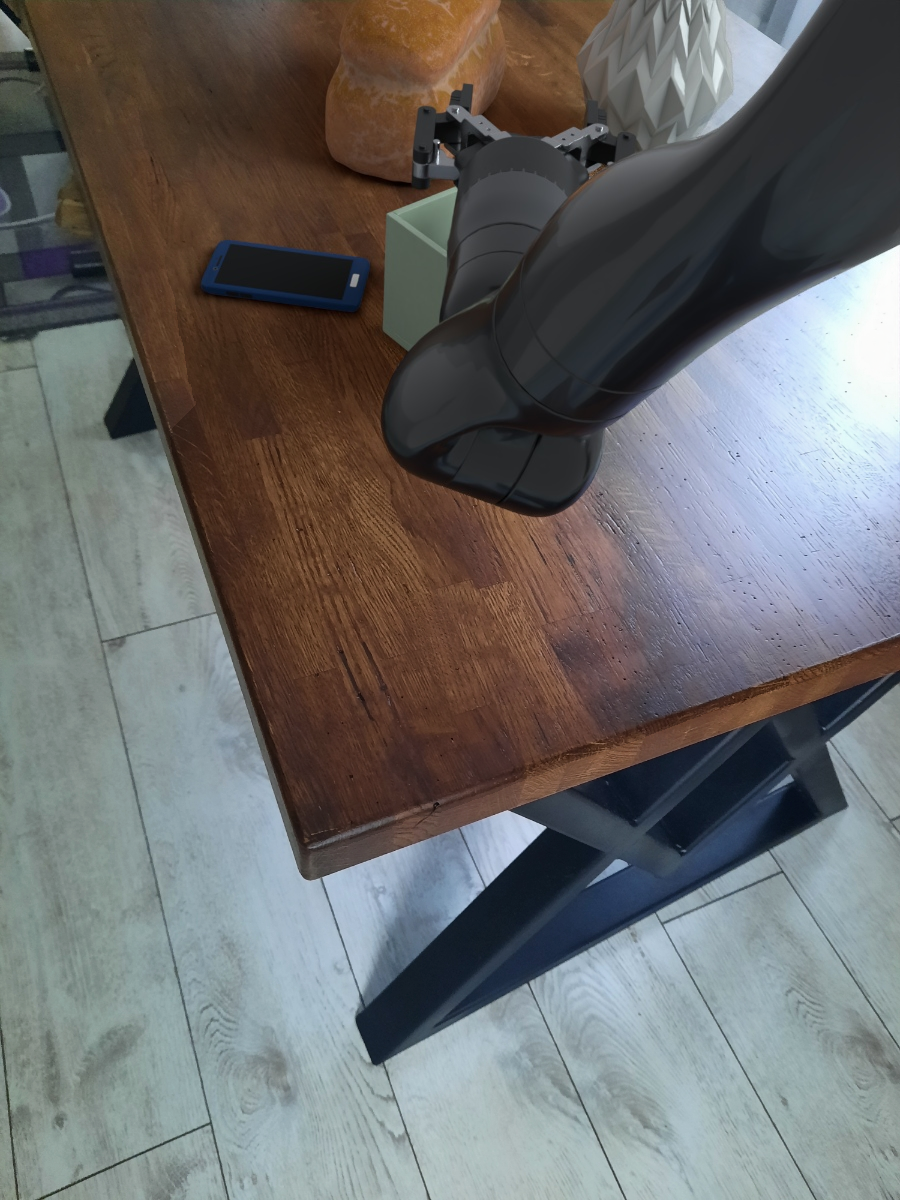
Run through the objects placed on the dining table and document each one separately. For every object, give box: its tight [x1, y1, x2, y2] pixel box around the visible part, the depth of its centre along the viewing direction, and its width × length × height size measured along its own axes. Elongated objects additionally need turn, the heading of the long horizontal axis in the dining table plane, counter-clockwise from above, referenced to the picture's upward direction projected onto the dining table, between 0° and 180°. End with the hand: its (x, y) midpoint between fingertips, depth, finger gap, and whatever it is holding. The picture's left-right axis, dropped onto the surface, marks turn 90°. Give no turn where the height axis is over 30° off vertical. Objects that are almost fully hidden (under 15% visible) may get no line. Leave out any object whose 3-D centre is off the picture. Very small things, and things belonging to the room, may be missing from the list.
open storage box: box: [382, 185, 457, 352], centre depth 75 cm, size 13×13×11 cm
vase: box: [575, 0, 735, 153], centre depth 94 cm, size 16×16×18 cm
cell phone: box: [200, 239, 371, 313], centre depth 82 cm, size 7×14×1 cm, turn 84°
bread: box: [324, 0, 507, 184], centre depth 95 cm, size 14×26×15 cm, turn 161°
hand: (528, 105), depth 64 cm, fingers open, 8 cm apart
